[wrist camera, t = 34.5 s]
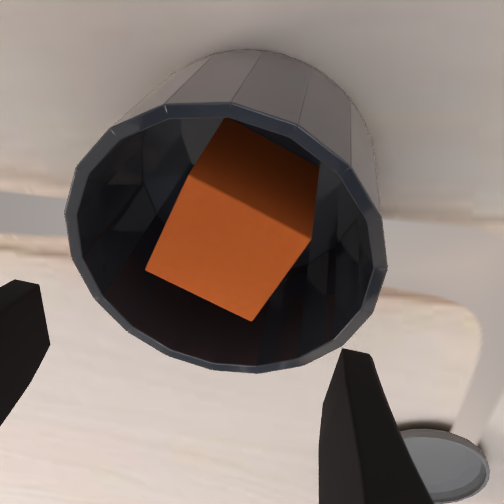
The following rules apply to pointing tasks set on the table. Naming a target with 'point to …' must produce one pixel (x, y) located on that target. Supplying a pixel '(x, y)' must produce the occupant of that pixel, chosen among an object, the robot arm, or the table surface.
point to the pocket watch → (447, 464)
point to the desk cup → (170, 185)
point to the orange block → (238, 221)
